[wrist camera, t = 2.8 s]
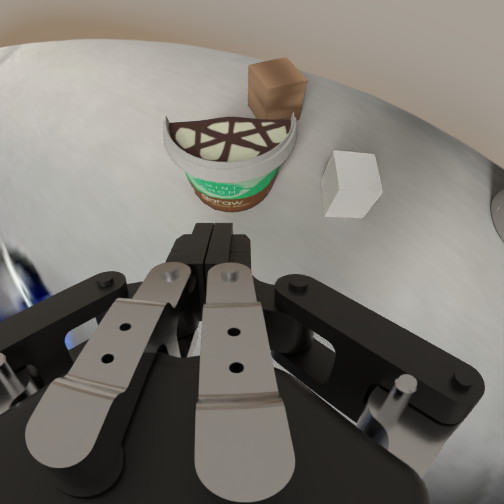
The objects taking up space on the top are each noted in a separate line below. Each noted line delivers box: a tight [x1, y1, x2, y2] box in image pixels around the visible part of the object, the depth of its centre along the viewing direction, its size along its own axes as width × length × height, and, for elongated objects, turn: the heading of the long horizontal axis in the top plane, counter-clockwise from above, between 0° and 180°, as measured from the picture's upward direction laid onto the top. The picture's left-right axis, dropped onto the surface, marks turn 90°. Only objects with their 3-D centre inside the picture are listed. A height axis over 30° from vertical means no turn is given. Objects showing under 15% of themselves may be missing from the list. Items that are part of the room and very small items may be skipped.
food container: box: [163, 112, 297, 212], centre depth 28 cm, size 12×6×10 cm, turn 92°
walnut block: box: [248, 58, 307, 120], centre depth 34 cm, size 5×5×7 cm
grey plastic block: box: [321, 150, 383, 218], centre depth 31 cm, size 4×4×6 cm
